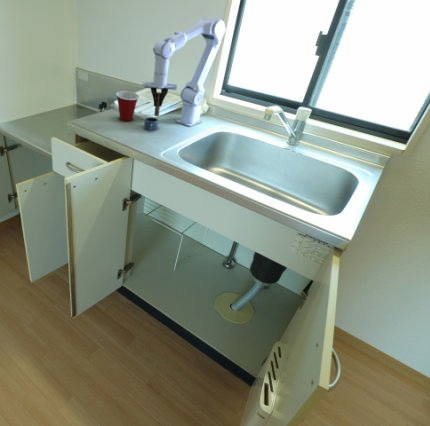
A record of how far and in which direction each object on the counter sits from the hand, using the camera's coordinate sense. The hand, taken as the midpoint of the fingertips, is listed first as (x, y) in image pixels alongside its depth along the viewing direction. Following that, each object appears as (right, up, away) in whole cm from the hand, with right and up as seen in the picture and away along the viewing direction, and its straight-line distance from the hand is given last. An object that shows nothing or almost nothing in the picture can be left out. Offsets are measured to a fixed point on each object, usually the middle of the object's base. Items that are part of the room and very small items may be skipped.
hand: (157, 105), depth 144 cm
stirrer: (0, -4, +3) cm, 4 cm away
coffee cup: (-3, -9, +5) cm, 11 cm away
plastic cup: (-14, -2, +14) cm, 20 cm away
